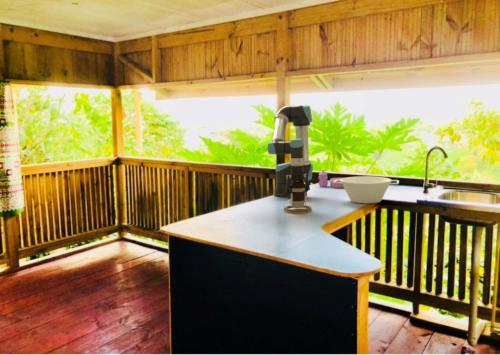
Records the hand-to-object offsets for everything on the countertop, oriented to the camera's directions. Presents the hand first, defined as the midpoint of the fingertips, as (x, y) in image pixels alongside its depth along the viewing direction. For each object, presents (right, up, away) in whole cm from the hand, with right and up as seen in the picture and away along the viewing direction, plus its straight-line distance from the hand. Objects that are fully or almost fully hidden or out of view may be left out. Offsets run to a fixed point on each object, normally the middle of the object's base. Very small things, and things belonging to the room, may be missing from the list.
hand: (297, 203), depth 238 cm
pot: (+47, 0, +21) cm, 51 cm away
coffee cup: (0, -3, 0) cm, 3 cm away
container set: (+39, +8, +84) cm, 93 cm away
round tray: (0, -5, 0) cm, 4 cm away
